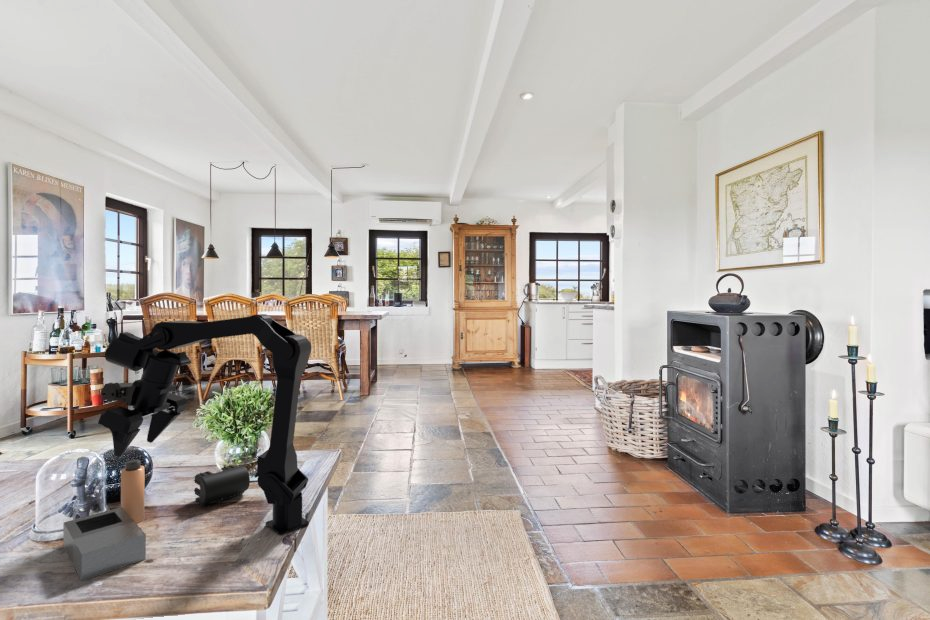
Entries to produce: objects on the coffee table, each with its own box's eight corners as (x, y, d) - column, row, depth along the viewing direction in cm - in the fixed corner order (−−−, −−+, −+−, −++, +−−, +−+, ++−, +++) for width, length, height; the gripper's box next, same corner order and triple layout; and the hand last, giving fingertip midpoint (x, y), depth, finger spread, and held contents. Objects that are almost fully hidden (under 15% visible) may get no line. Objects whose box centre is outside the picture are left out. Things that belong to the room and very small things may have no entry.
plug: (146, 520, 98) (147, 461, 98) (123, 527, 95) (124, 466, 95) (141, 514, 101) (141, 457, 100) (118, 521, 98) (118, 461, 97)
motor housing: (145, 559, 84) (145, 534, 84) (81, 581, 77) (81, 554, 77) (121, 529, 94) (121, 507, 94) (63, 546, 87) (63, 522, 87)
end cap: (205, 510, 103) (206, 480, 103) (192, 501, 108) (192, 472, 107) (250, 496, 111) (250, 468, 111) (235, 488, 115) (236, 461, 115)
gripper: (152, 359, 106) (130, 423, 107) (84, 372, 88) (58, 450, 88) (198, 376, 106) (176, 440, 107) (139, 392, 88) (113, 469, 88)
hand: (134, 448), depth 97 cm, fingers open, 9 cm apart
